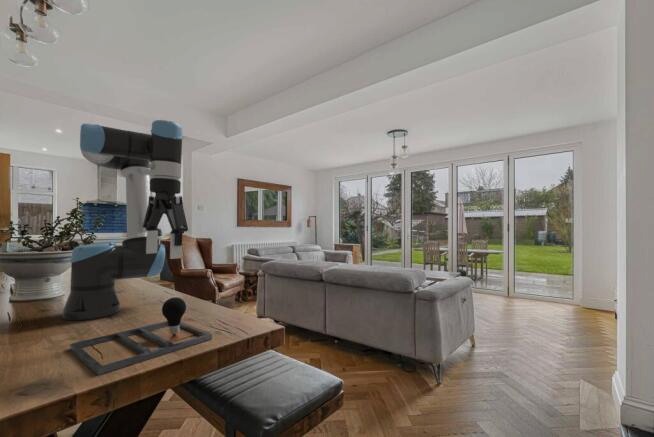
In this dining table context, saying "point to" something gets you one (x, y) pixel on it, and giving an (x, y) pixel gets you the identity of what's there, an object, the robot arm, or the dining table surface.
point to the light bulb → (174, 313)
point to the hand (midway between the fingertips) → (163, 255)
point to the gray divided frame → (145, 353)
